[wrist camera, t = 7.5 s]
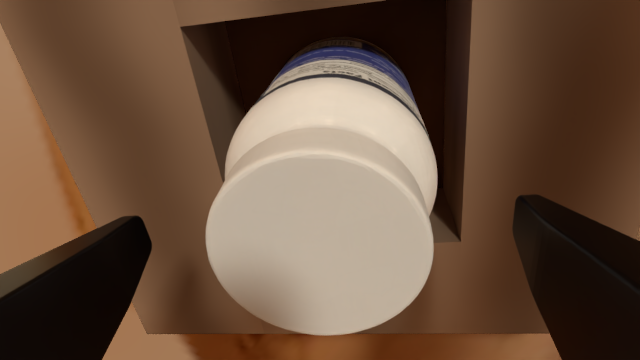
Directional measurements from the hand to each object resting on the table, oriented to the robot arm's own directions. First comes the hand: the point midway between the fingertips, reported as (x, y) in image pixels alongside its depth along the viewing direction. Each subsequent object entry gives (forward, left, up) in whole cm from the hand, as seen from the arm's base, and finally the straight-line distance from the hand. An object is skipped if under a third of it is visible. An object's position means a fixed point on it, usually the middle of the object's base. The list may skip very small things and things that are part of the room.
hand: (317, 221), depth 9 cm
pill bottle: (0, 0, -9) cm, 9 cm away
